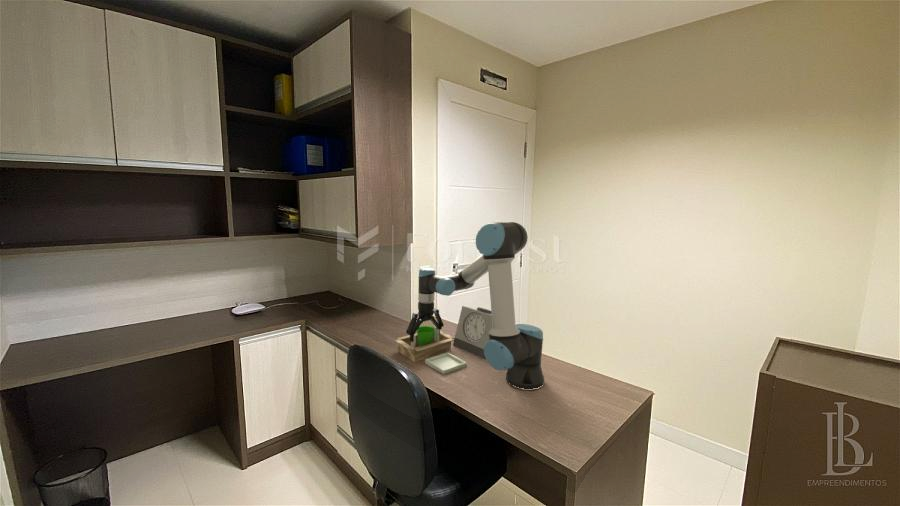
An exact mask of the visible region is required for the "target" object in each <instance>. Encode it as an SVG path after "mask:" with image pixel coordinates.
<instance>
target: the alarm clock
mask: <svg viewBox="0 0 900 506" xmlns="http://www.w3.org/2000/svg"><path fill="white" fill-rule="evenodd" d="M458 318H459V319H458V323H457V327H456V331H455V335H454V339H453V340H454V341H453V343H452V346H453V347H456V348H458V349H461V350H462V351H465V352H467V353H469V354H472V355H473V356H476V357H478V356H479V358H481V359H483V360H485V359H486V358H485V355H484V345H485V344H486V342H487V341H489V331H490V330H491V329H492V314H491V309H487V308H483V307H477V308H473V307H468V306H465V305H462V306H461V310H460V315H459V317H458Z"/></svg>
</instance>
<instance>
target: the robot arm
mask: <svg viewBox="0 0 900 506" xmlns="http://www.w3.org/2000/svg"><path fill="white" fill-rule="evenodd" d="M528 240H529V239H528V232H527V230H526V228H525V227H524V226H523V225H522V224H520V223H518V222H515V221H510V222H503V221H502V222H497V221H496V222H494V221H493V222H489V223H485V224H483V225H482V226H481V227H480V228H479V229H478V231H477V233H476V235H475V247H476V249H477V250H478V253H480V255H479V256H478V257H477V258H476V259H475V260H473V261H472V262H471V263H470V264H469V265H467V266H466V267H465V268H464V269H462V270H461V271H459V272H458V273H456V274H449V275H443V276H442V275H441V276H440V275H436V270H435V268H431V267H423V268H420V269H419V271H418V295H417V296H418V297H417V300H418V302H417V309H418V312H413V313H412V315H411V319H410V322H409V324H408V327H407V329H406V331H405V333H406V334H407V335H410V341H411V346H412V347H414V348H417V347H416V335H414V334H415V333H417V330H418V328H419V326H422V324H423V323H424V322H427V321H430V322H432V324H433V325H434V328H435V331H434V341H436V342H439V335H440V331H441V330H442V329H443V327H444V323H443V320H442V317H441V315H440V309H438V308H435V293H436V294H440V295H442V296H447V297H448V296H451V295H452V294H454V292H457V291H462V290H468V289H470V288H472V287H474V285H475V284H476V283H475V282H476V281H478V279H480V278H482V277H483V276H484V275H486V274H487V273H488V284H489V285H488V286H489V299H490V300H489V301H490V311H491V314H492V329H491V330H490V331H489V341H487V342H486V344H485V345H484V355H485V358H486V361H487V363H489V365H490V366H491V367H492V368H493V369H494V370H498V371H505V370H507V371H506V373H505V380H507V381H506V383H507V384H509V383H510V384H511V385H514V386H516V387H519V388H524V389H533V388H538V387H540V386H542V385H543V383H544V384H545V376H544V374H543V369H542V365H541V364H542V356H543V345H544V344H543V342H544V332H543V330H542V329H541V328H540V327H537V326H534V325H531V324H525V323H516V315H515V312H516V311H515V301H514V298H515V297H514V287H513V272H512V271H513V270H512V263H513V261H514V260H515V258H516V257H515V256H516V255H517V254H519V252H521V251H522V250H523V249H524V248H525V246H526V245H527V242H528ZM433 315H434V316H435V317H434V316H433ZM510 384H509V385H510ZM511 385H510V386H511ZM543 386H544V385H543Z"/></svg>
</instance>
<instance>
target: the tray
mask: <svg viewBox="0 0 900 506" xmlns="http://www.w3.org/2000/svg"><path fill="white" fill-rule="evenodd" d="M467 362H468V361H467ZM467 362H466V361H465V360H463V359H461V358H459V357H458V356H456V355H453V354H452V353H451V352H449V351H447V352H444V353H441V354H438V355H435V356H431V357H428V358H425V359H424V364H426V365H428V367H430V368H432V369H433V370H435V371H436V372H439V373H440V374H442V375H444V376H445V375H447V374H449V373H452V372H455V371H458V370H460V369H463V368H466V367H467V365H468V363H467Z"/></svg>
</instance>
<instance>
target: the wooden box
mask: <svg viewBox="0 0 900 506" xmlns="http://www.w3.org/2000/svg"><path fill="white" fill-rule="evenodd" d="M414 335H416V347H415V348H414V347H412V346H411V341H410V335H409V334H407V335H404V336H398V337H396V339H395V340H394V342H395V343H397V344H398V348H397V349H398V353H400V354H402V355H403V356H404V357H406V358H407V359H409V360H411V361H412V362H413V363H414V362H418V361H421V360H425V359H428V358H431V357H434V356H438V355H441V354H444V353H447V352H451V350H452V342H454V338H455V336H453V335H451V334H448V333H446V332H444V331H442V330H440V335H439V342H436V341H434V334H433V340H432V344H428V345H425V346H421V347H419V344H418V336H417V332H416V333H415V334H414Z"/></svg>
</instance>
